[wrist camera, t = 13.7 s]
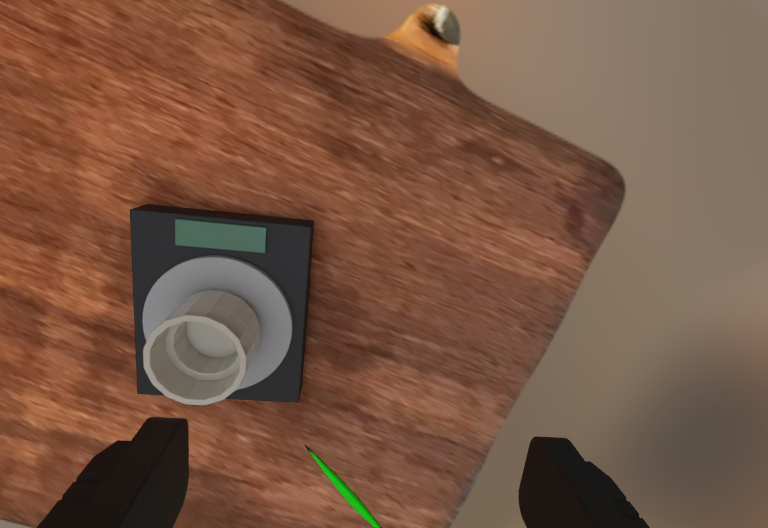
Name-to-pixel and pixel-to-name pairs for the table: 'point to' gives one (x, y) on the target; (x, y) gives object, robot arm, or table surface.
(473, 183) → the table surface
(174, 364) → the white cup
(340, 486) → the leaf
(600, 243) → the table surface
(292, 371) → the scale
